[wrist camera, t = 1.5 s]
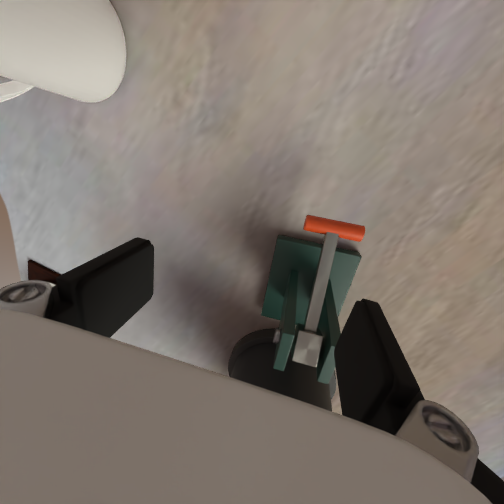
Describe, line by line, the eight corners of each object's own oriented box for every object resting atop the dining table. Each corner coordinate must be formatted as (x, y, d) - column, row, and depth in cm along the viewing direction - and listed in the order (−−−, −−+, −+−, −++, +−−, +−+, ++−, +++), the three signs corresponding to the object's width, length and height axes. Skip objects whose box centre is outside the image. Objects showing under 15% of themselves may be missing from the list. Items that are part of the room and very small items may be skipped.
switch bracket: (278, 234, 30) (261, 287, 18) (359, 252, 29) (395, 320, 17) (262, 309, 35) (241, 387, 23) (330, 327, 34) (343, 419, 22)
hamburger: (30, 259, 41) (-7, 274, 36) (91, 290, 41) (62, 309, 36) (31, 308, 46) (-2, 327, 41) (85, 335, 46) (59, 357, 41)
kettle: (237, 316, 36) (151, 527, 16) (379, 354, 34) (490, 664, 13) (224, 398, 45) (156, 604, 24) (336, 434, 42) (365, 698, 22)
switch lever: (305, 216, 23) (308, 212, 21) (359, 227, 22) (368, 224, 20) (275, 345, 23) (274, 356, 21) (328, 360, 23) (333, 373, 20)
